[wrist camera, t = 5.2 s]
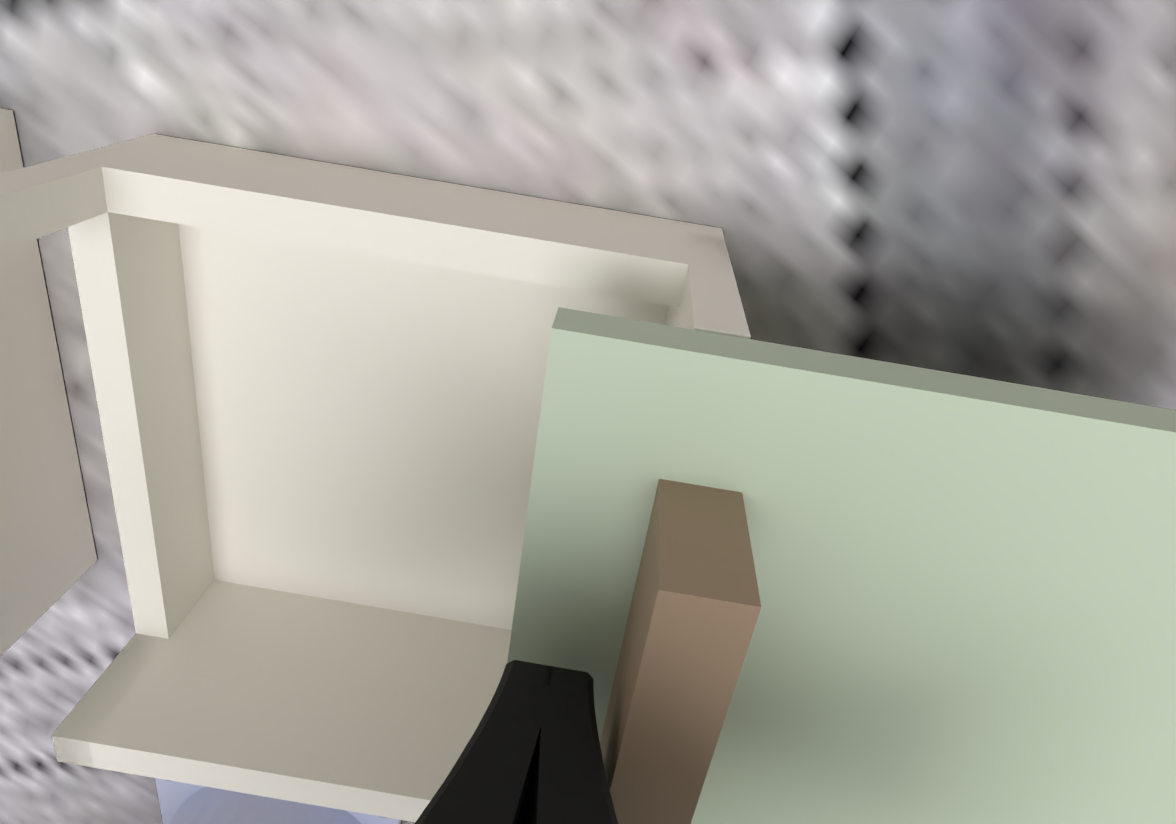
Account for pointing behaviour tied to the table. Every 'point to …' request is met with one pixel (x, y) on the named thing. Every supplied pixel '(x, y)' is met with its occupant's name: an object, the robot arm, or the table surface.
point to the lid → (851, 584)
